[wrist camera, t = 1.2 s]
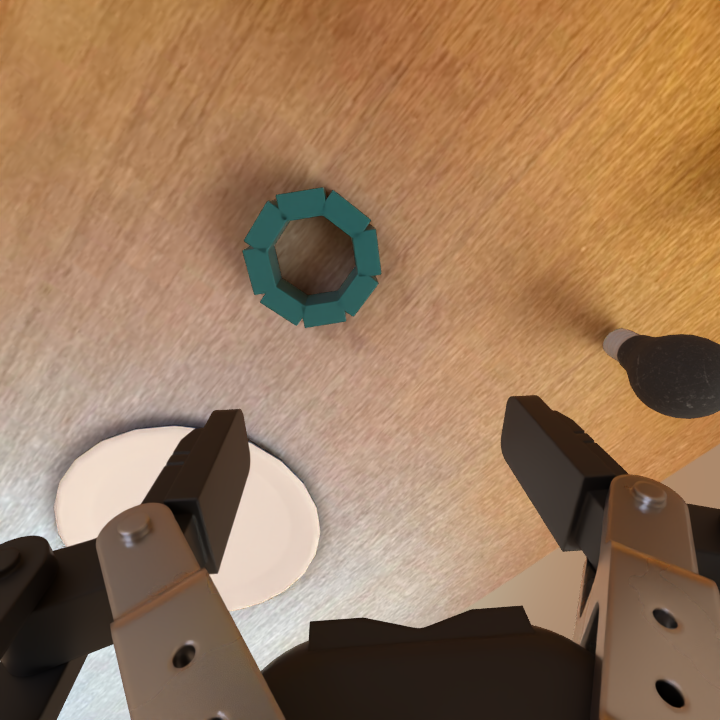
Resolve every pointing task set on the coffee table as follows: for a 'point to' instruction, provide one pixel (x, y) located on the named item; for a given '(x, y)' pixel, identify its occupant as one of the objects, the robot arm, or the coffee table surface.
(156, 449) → the plate
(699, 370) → the light bulb
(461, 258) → the coffee table surface
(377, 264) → the block ring
